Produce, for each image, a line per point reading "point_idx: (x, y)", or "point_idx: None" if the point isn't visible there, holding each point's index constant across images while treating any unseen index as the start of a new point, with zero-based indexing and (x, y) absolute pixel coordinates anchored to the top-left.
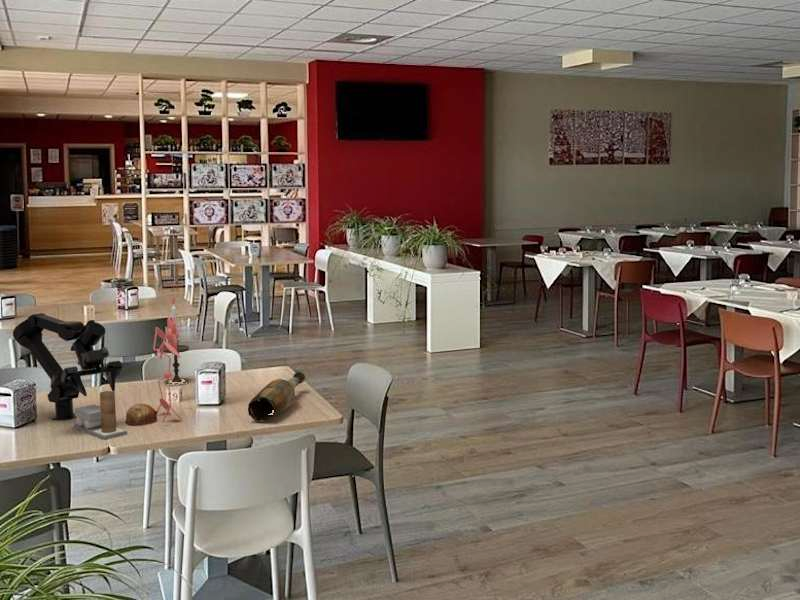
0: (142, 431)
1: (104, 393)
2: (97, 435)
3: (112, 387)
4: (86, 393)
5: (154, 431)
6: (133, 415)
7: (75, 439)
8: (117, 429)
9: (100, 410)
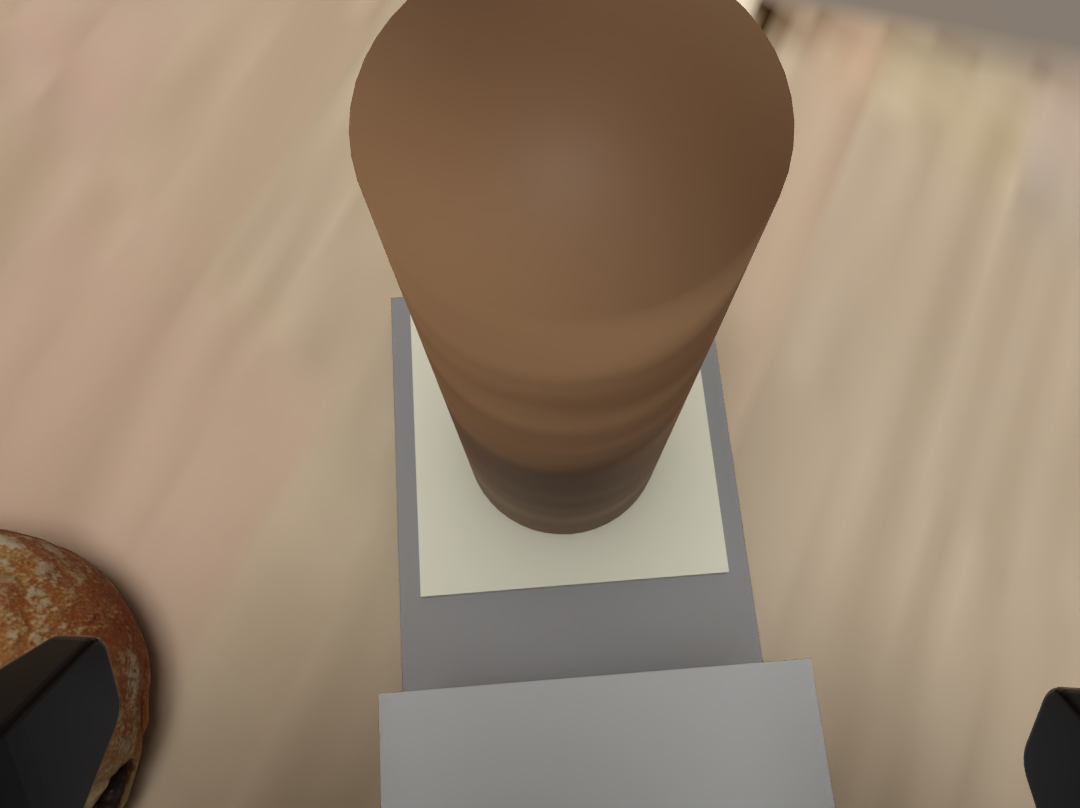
0: (212, 298)
1: (680, 74)
2: (725, 432)
3: (38, 747)
4: (1074, 711)
5: (122, 208)
6: (48, 607)
7: (975, 546)
8: None
9: (546, 753)
